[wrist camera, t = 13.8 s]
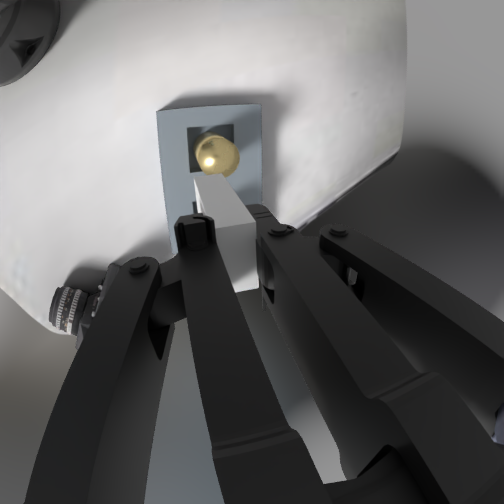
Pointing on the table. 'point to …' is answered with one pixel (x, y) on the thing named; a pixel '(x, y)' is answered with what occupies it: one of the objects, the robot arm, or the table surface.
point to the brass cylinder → (216, 154)
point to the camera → (78, 306)
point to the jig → (186, 165)
